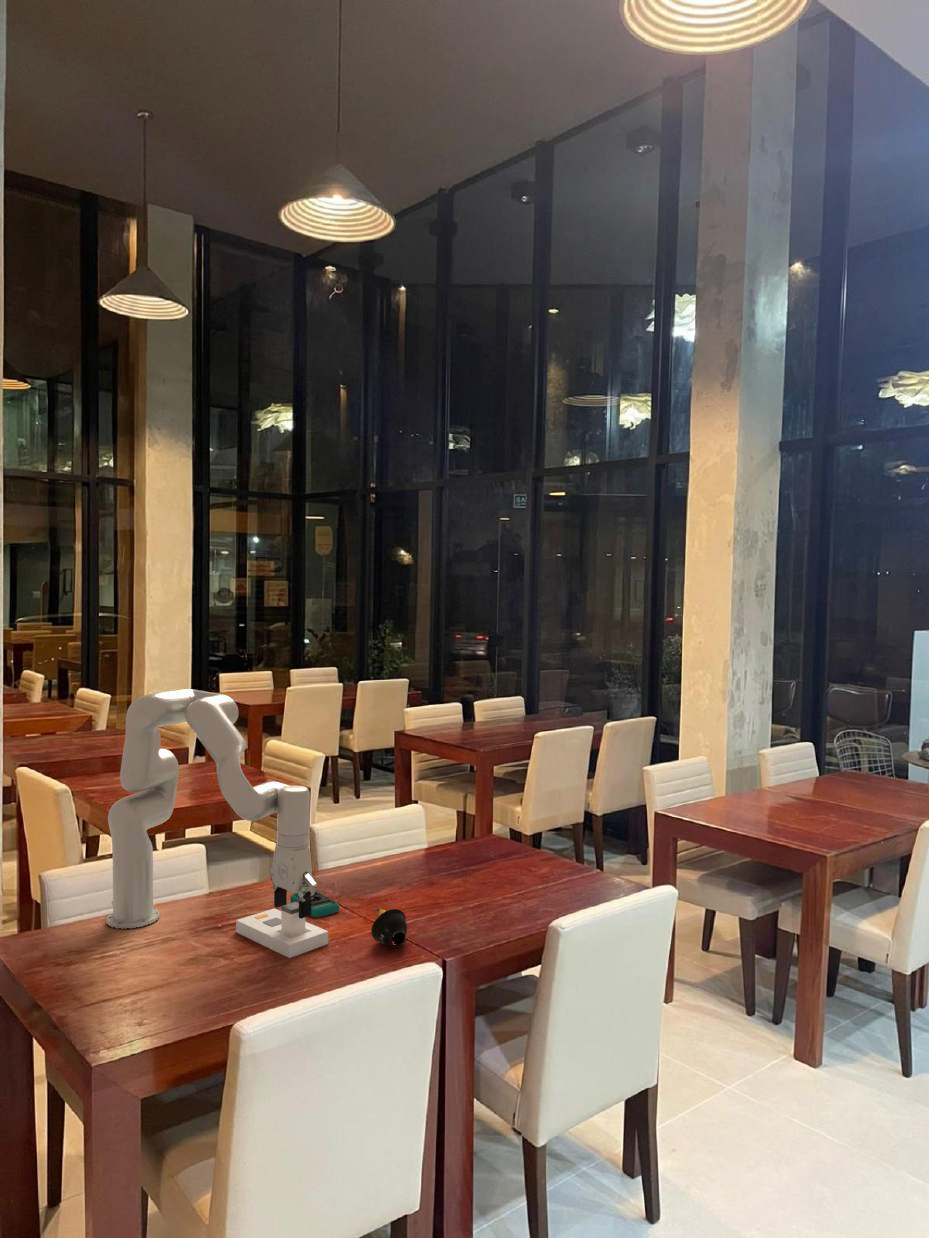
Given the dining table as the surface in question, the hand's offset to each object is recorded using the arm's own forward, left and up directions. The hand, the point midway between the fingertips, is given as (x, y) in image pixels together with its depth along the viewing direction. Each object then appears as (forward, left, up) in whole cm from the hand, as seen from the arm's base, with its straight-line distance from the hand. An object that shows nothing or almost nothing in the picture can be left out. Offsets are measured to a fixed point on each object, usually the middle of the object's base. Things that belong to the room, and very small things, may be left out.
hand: (292, 911), depth 201 cm
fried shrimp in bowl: (+13, +18, -8) cm, 24 cm away
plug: (0, 0, -8) cm, 8 cm away
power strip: (-5, 0, -8) cm, 9 cm away
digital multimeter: (-16, +18, -8) cm, 26 cm away
